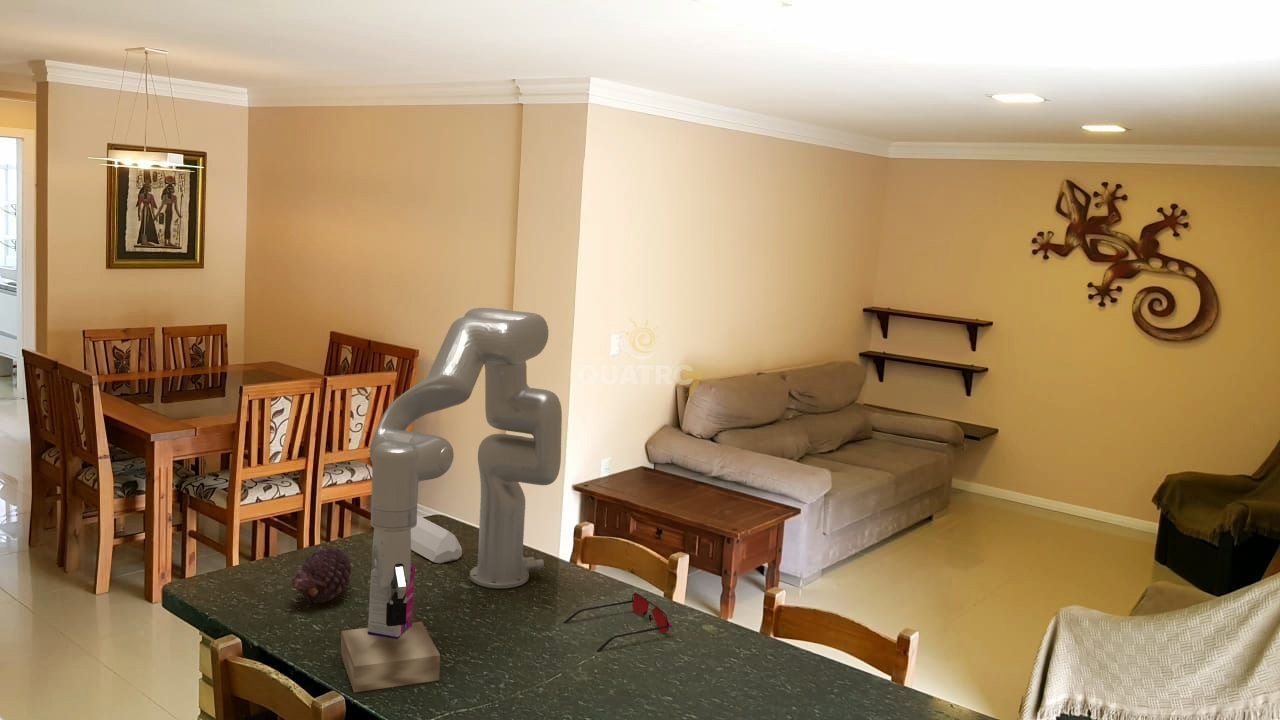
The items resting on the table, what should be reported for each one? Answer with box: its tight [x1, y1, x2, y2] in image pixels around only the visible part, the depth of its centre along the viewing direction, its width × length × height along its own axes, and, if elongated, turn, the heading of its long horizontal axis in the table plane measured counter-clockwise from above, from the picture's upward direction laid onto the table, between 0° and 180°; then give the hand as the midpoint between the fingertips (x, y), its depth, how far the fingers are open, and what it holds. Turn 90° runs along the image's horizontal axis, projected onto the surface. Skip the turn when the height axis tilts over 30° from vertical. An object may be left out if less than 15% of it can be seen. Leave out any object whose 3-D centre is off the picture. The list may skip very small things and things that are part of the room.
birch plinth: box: [340, 621, 441, 693], centre depth 171 cm, size 14×14×4 cm
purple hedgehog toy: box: [291, 547, 352, 604], centre depth 197 cm, size 18×10×10 cm, turn 169°
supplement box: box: [367, 563, 416, 639], centre depth 169 cm, size 6×6×12 cm
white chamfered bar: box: [411, 514, 463, 564], centre depth 229 cm, size 7×7×24 cm
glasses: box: [563, 591, 673, 653], centre depth 192 cm, size 14×16×5 cm
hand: (390, 614), depth 170 cm, fingers closed on supplement box, 7 cm apart
